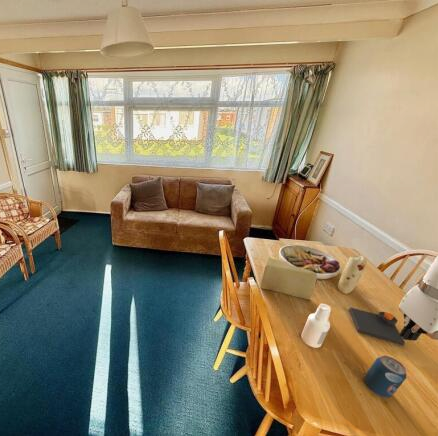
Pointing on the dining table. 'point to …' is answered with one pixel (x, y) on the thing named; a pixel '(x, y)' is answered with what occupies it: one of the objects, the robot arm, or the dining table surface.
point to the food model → (351, 274)
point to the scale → (376, 326)
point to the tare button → (388, 316)
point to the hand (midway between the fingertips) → (406, 337)
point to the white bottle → (317, 326)
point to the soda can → (385, 376)
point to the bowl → (310, 260)
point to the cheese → (288, 279)
